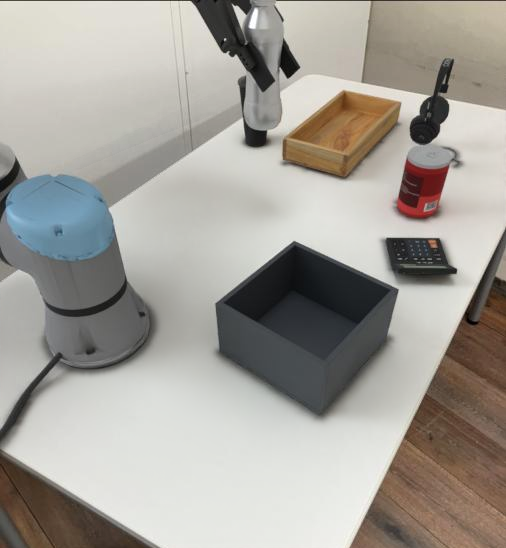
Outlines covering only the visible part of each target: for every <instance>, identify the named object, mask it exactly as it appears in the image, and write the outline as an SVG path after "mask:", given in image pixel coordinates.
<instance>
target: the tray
mask: <svg viewBox="0 0 506 548" xmlns="http://www.w3.org/2000/svg"><path fill="white" fill-rule="evenodd" d="M401 106H402V101H398V100H393V99H390V98H384V97H380V96H375V95H369V94H364V93H360V92H356V91H351V90H345V89H342V90H340V91H339V92H338V93H337V94H336V95H335V96H333V97H332V98H331V99H330V100H329V101H327V102H326V103H325V104H324V105H322V106H321V107H319V109H317V110H316V111H315V112H314V113H313V114H311V115H310V116H309V117H307V118H306V119H305V120H304V121H302V122H301V123H300V124H299V125H297V126H296V127H295V128H294V129H292V130H291V131H290V132H289V133H288V134H286V135H285V136H284V137H283V138H282V148H281V149H282V151H281V156H282V161H284V162H288V163H291V164H295V165H299V166H303V167H307V168H310V169H313V170H317V171H321V172H325V173H329V174H331V175H336V176H339V177H343V178H346V177H347V176H348V175H349V174H350V173H351V172H352V171H353V170H354V169H355V167H356V166H357V165H358V164H359V163H361V161H362V160H363V159H364V158H365V157H366V156H367V155H368V154H369V153H370V152H371V150H373V149H374V148H375V146H377V144H378V143H380V141H381V140H382V139H383V138H384V137H385V136H386V135H387V134H388V133H389V132H390V131H391V130H392V129H393V127H395V126H396V125H397V124H398V121H399V118H400V113H401Z"/></svg>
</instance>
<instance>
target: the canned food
mask: <svg viewBox="0 0 506 548" xmlns="http://www.w3.org/2000/svg"><path fill="white" fill-rule="evenodd" d="M452 159H453V158H452V154H451V152H450V151H449V150H448V149H447V148H445V147H441V146H438V145H434V144H426V145H420V144H418V145H416V146H415V145H414V146H413V147H411V148H410V149H409V150H408V151H407V154H406V159H405V163H404V167H403V172H402V177H401V181H400V187H399V191H398V196H397V201H396V204H397V209H398V211H399V212H400V213H401V214H402V215H404V216H406V217H409V218H413V219H425V218H428V217H431V216H433V215H434V214H435V213H436V211H437V210H438V208H439V205H440V200H441V197H442V194H443V190H444V187H445V183H446V180H447V176H448V174H449V170H450V166H451V162H452V161H451V160H452Z"/></svg>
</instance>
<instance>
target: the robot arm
mask: <svg viewBox="0 0 506 548" xmlns="http://www.w3.org/2000/svg"><path fill="white" fill-rule="evenodd" d="M189 1H190V2H191V3H192V4H193V5H194V6H195V8H196V10H197V11H198V13H199V15H200V17H201V19H202V20H203V22H204V24H205V25H206V28H207V29H208V30H209V32H210V34H211V36H212V38H213V39H214V41H215V43H216V45H217V47H218V48H219V49H220V51H221V53H223V54H227V53H228V56H229V57H230V58H235V56H236V57H237V58H238V60H239V61H240V63H241V64H242V65H243V66H242V67H244V69H245V71H246V70H247V71H248V72H250V74H251V75H252V77H253V78H254V80H255V82H256V83H257V85H258V86H259V88H260V89H261V91H262V93H263V92H265V91H266V90H267V89H268V88H269V87H270V86H271V85H272V84H273V83H274V82H275V79H274V77H273V76H272V74H271V73H270V71H269V69H268V68H267V66H266V64H265V63H264V61H263V60H262V58H261V56H260V55H259V53H258V52H257V50H256V48H255V47H254V45H253V44H252V42H251V41H250V42H248V43H247V44H246V45H245V43H246V40H245V37H244V35H243V32H242V26H241V24H240V22H239V21H240V20H239V19H238V17H237V14H236V11H235V8H234V7H238V8H239V9H240V10H241V11H242V13H243V14H244V15H245V16H246V15H247V14H248V12H249V11H250V9H251V8H252V4H250V0H189ZM274 8H275V10H276V11H277V13H278V14H279V16H280V18H281V20H282V22H283V23H284V22H285V19H284V16H282V13H281V12H280V10H279V9H278V7H277V6H276V4H274ZM279 69H280V70H281V71H282V73H283V75H284V76H285V78H286V79H287V80H288V79H291V77H293V75H295V74H296V73H297V72H298V71H299V70H300V69H301V65H300V63H298V61H297V59H296V57H295V56H294V54H293V53H292V51H291V49H290V45H289V44H288V42H287V41H286V39H285V36H284V37H283V44H282V51H281V58H280V68H279ZM0 263H3V264H5V265H7V266H10V267H12V268H15V269H16V270H19V271H21V272H22V273H26V274H28V275H29V276H30V277H31V278H32V280H34V282H35V285H36V287H37V289H38V291H39V295H40V296H41V298H42V300H43V303H44V335H45V341H46V343H47V346H48V348H49V350H50V352H51V353H52V355H53V357H52V359H51V360H49V362H48V363H47V365H46V366H44V368H43V369H42V370H41V371H40V372H39V373H38V375H36V377H34V379H33V380H32V381H31V382H30V383H29V385H28V386H27V387H26V388H25V390H24V391H23V392H22V394H21V396H20V397H19V398H18V400H17V402H16V403H15V405H14V407H13V408H12V410H11V411H10V414H9V416H8V417H7V418H6V420H5V422H4V424H3V425H2V427H1V428H0V442H1V441H2V440H3V438H4V437H5V436H6V435H7V433H8V432H9V430H10V429H11V427H12V426H13V425H14V423H15V421H16V419H17V417H18V416H19V413H20V411H21V410H22V408H23V407H24V405H25V403H26V401H27V400H28V399H29V397H30V395H31V394H32V393H33V392H34V390H35V389H36V388H37V387H38V386H39V385H40V384H41V382H42V381H43V380H44V379H45V378H46V377H47V375H49V373H50V372H51V371H52V370H53V368H54V367H55V366H56V365H57V364H58V363H59V361H60V362H61V363H62V364H65V365H68V366H70V367H73V368H74V367H75V368H79V369H96V368H97V369H98V368H103V367H108V366H111V365H113V364H116V363H119V362H121V361H123V360H125V359H127V358H128V357H131V355H133V354H134V353H135V352H137V351H138V350H139V349H140V348H141V347H142V345H144V343H145V341H146V339H147V338H148V336H149V333H150V329H151V320H150V314H149V311H148V309H147V308H148V307H147V306H146V305H145V304H146V303H145V301H144V299H143V298H142V297H141V296H140V294H139V293H138V292H137V291H136V290H135V289H134V288H133V286H132V285H131V283H130V282H129V281H128V278H127V275H126V270H125V266H124V261H123V258H122V254H121V249H120V245H119V241H118V236H117V233H116V228H115V224H114V218H113V215H112V213H111V212H110V209H109V207H108V204H107V200H106V199H105V197H104V195H103V194H102V192H101V191H100V190H99V189H98V188H97V187H96V186H94V184H92V183H91V182H89V181H87V180H85V179H83V178H80V177H78V176H74V175H71V174H62V173H58V174H57V175H56V176H53V175H51V174H50V173H49V174H41V175H36V176H33V177H30V178H28V177H27V175H26V174H25V172H24V170H23V167H22V166H21V163H20V161H19V160H18V158H17V156H16V154H15V152H14V150H13V149H12V148H11V146H10V145H8V144H6V143H5V142H1V141H0Z"/></svg>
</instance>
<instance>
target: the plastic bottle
mask: <svg viewBox="0 0 506 548" xmlns="http://www.w3.org/2000/svg"><path fill="white" fill-rule="evenodd" d="M250 4H252V8H251V9H250V11H249V12H248V14H247V15H246V14H245V17H244V20H243V22H242V25H241V29H242V32H243V35H244V37H245V40H246V43H245V45H246V44H247V43H248V42H250V41H251V42H252V44H253V45H254V47H255V48H256V50H257V52H258V53H259V55H260V56H261V58H262V60H263V61H264V63H265V64H266V66H267V68H268V69H269V71H270V73H271V74H272V76H273V77H274V79H275V82H274V83H273V84H272V85H271V86H270V87H269V88H268V89H267V90H266V91H265V92H263V93H262V91H261V89H260V88H259V86H258V85H257V83H256V82H255V80H254V78H253V77H252V75H251V74H250V72H248V71H247V70H246V69H245V75H246V97H245V101H244V111H243V112H244V118H245V121H246V123H247V124H248V126H249V127H251V128H253V129H256V130H267V131H271V130H274V129H276V128H277V127H278V126H280V123H281V122H282V118H283V113H284V112H283V101H282V97H281V81H280V72H281V68H280V58H281V51H282V44H283V37H284V38H285V27H284V22H282V20H281V18H280V16H279V14H278V13H277V11H276V10H275V8H274V5H276V4H277V0H250Z"/></svg>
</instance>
